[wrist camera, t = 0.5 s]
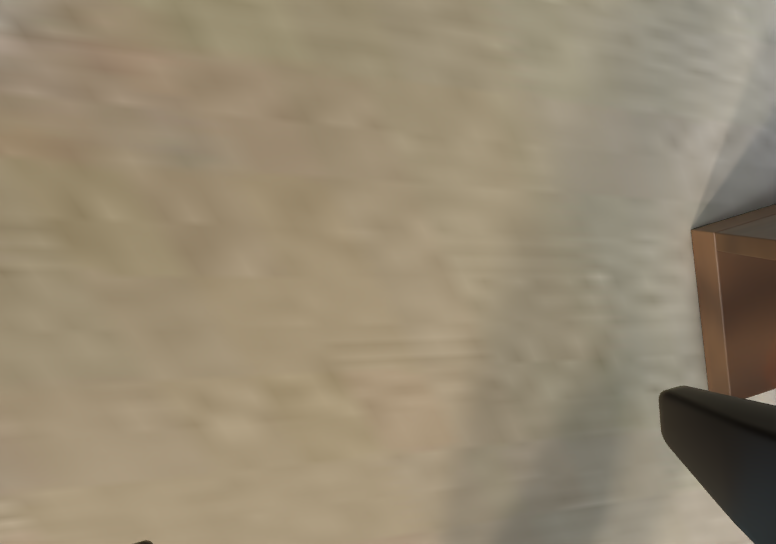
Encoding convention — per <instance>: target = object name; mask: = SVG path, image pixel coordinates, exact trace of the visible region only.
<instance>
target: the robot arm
mask: <svg viewBox="0 0 776 544" xmlns="http://www.w3.org/2000/svg"><path fill="white" fill-rule="evenodd" d="M659 410H660V423H661V432H662V435H663V438H664V440H665V442H666V443H667V445H668V446H669V447H670V449H671V450H672V451H673V452H674V453H675V454H676V456H677V457H678V458H679V459H680V460H681V461H682V463H683V464H684V465H685V466H686V467H687V468H688V470H689V471H690V472H691V473H692V474H693V476H694V477H695V478H696V479H697V480H698V481H699V483H700V484H701V485H702V486H703V487H704V488H705V490H706V491H707V492H708V493H709V494H710V495H711V497H712V498H713V499H714V500H715V501H716V502H717V504H718V505H719V506H720V507H721V508H722V509H723V511H724V512H725V513H726V514H727V515H728V516H729V517H730V518H731V520H732V521H733V522H734V523H735V524H736V525H737V526H738V527H739V528H740V529H741V530H742V531H743V532H744V533H745V534H746V535H747V536H748V537H749V539H750V540H751V541H752V542H753V543H754V544H776V406H774V405H770V404H765V403H761V402H756V401H752V400H747V399H743V398H738V397H734V396H729V395H725V394H720V393H716V392H711V391H707V390H702V389H698V388H693V387H689V386H678V387H675V388H671V389H668V390H664V391H663V392H661V393H660V396H659ZM134 544H153V543H152V542H151V541H147V540H145V541H141V542H138V543H134Z"/></svg>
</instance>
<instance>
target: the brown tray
mask: <svg viewBox="0 0 776 544" xmlns="http://www.w3.org/2000/svg"><path fill="white" fill-rule="evenodd" d="M691 234H692V243H693V252H694V261H695V270H696V279H697V288H698V297H699V306H700V315H701V324H702V333H703V342H704V351H705V360H706V370H707V379H708V388H709V391H711V392H716V393H720V394H725V395H729V396H734V397H738V398H743V399H746V398H749V397H752V396H755V395H758V394H761V393H764V392H767V391H770V390H772V389H775V388H776V204H774V205H771V206H768V207H764V208H761V209H758V210H755V211H751V212H748V213H745V214H741V215H738V216H735V217H732V218H728V219H725V220H722V221H719V222H715V223H712V224H709V225H705V226H702V227H699V228H696V229H692V230H691Z"/></svg>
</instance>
